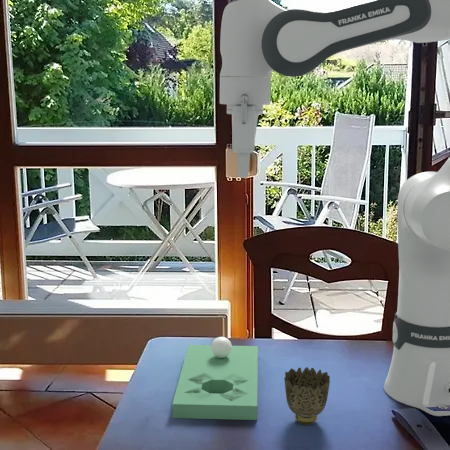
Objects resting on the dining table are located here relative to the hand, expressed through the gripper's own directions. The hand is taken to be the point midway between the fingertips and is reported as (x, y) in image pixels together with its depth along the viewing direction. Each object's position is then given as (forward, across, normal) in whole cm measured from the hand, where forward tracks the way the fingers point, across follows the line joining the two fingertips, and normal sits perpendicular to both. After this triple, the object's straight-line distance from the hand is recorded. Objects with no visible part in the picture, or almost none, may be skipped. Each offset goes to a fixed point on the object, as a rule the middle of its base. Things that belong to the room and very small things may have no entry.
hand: (243, 173), depth 121 cm
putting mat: (+39, -4, +4) cm, 39 cm away
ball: (+34, +3, +4) cm, 34 cm away
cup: (+39, -17, -11) cm, 44 cm away
